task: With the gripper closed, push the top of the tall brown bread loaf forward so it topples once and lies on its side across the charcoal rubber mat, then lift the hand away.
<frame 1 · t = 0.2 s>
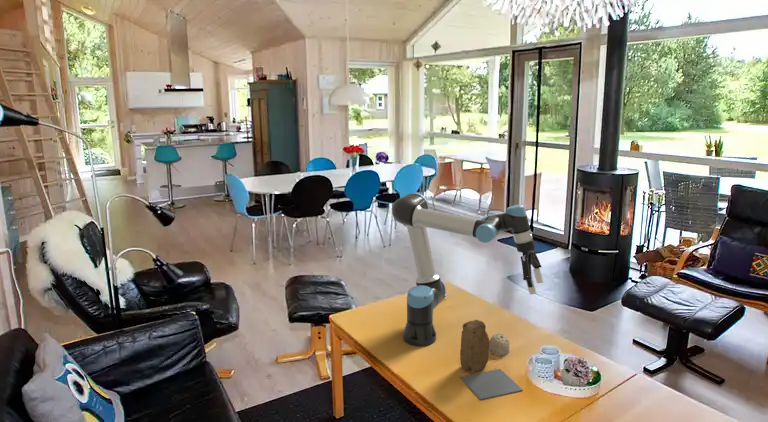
hand: (536, 288, 226), 28 cm above the table, tool tilted 20°, fingers open, 13 cm apart
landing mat: (490, 384, 204), on the table
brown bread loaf: (474, 368, 216), on the table
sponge: (498, 351, 230), on the table
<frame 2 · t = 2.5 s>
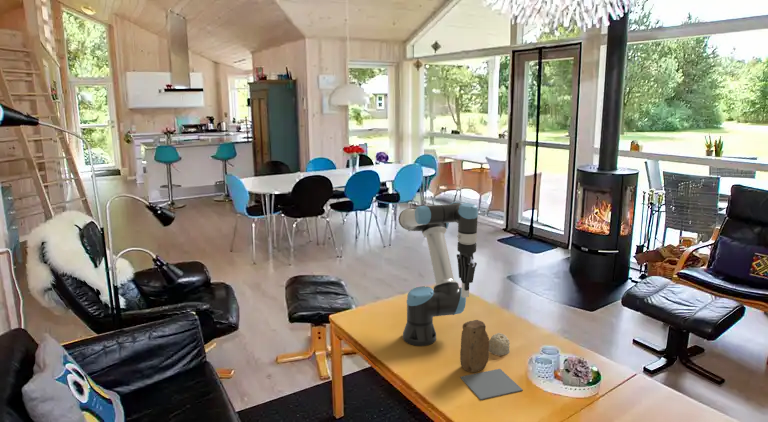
hand: (465, 296, 219), 27 cm above the table, tool pointing down, fingers closed
nothing on the table moved.
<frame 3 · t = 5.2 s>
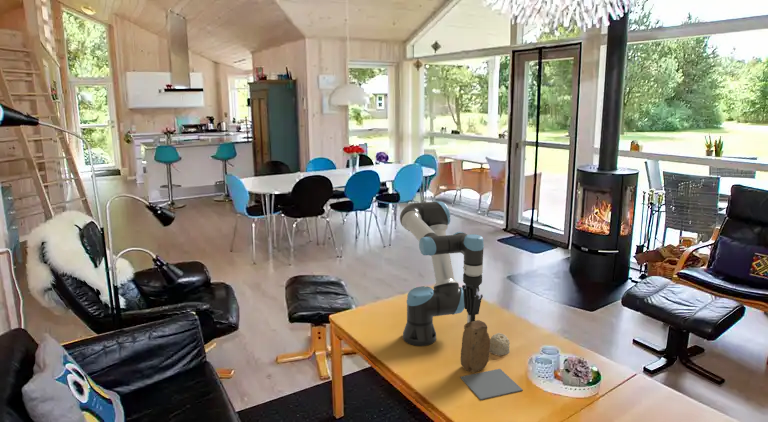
hand: (470, 328, 216), 16 cm above the table, tool pointing down, fingers closed
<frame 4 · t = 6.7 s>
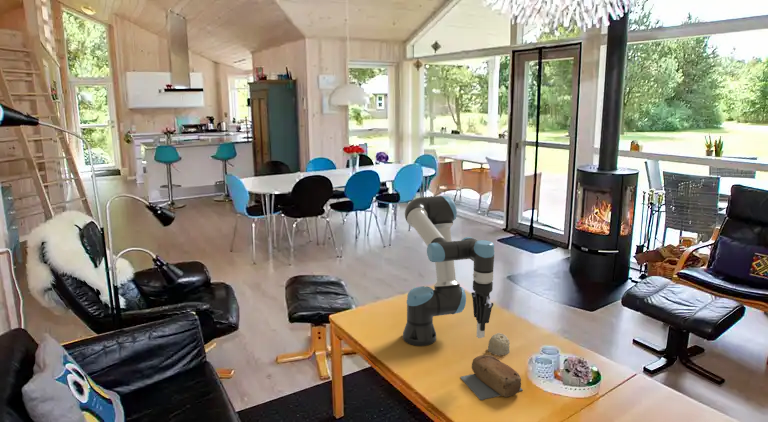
hand: (480, 336, 209), 16 cm above the table, tool pointing down, fingers closed
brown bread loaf: (480, 362, 212), point 4 cm above the table, touching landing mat
everything else where it was.
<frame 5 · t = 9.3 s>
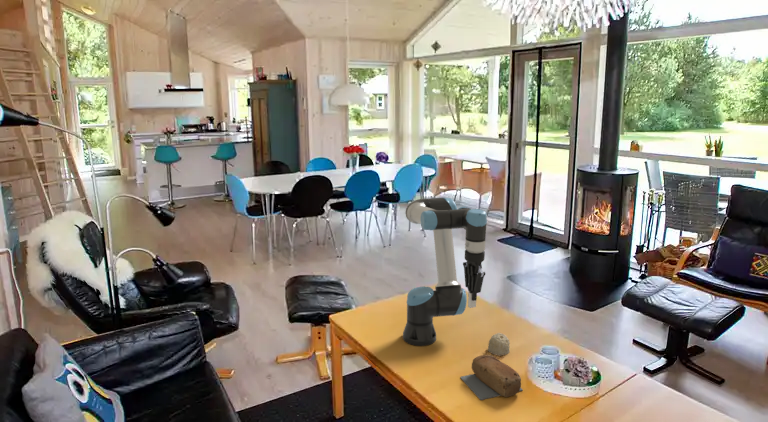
hand: (471, 306, 208), 28 cm above the table, tool pointing down, fingers closed
nothing on the table moved.
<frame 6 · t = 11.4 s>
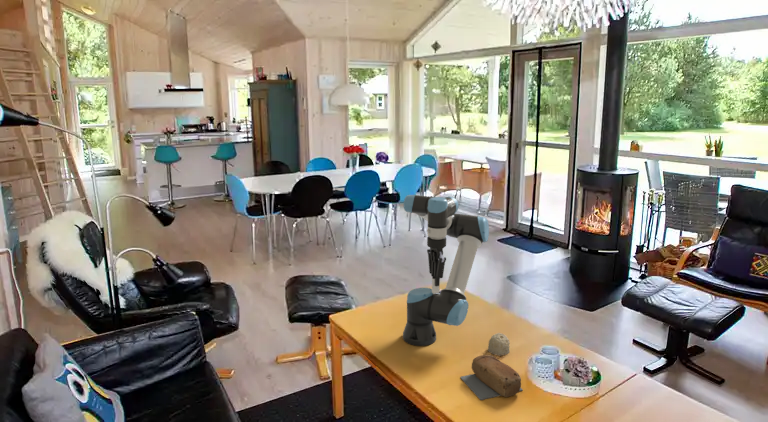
hand: (435, 292, 215), 30 cm above the table, tool pointing down, fingers closed
nothing on the table moved.
at the end: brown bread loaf tilted 91°; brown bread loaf touching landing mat; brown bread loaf inside the target area (2.1 cm from its centre), point 4.3 cm above the table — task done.
